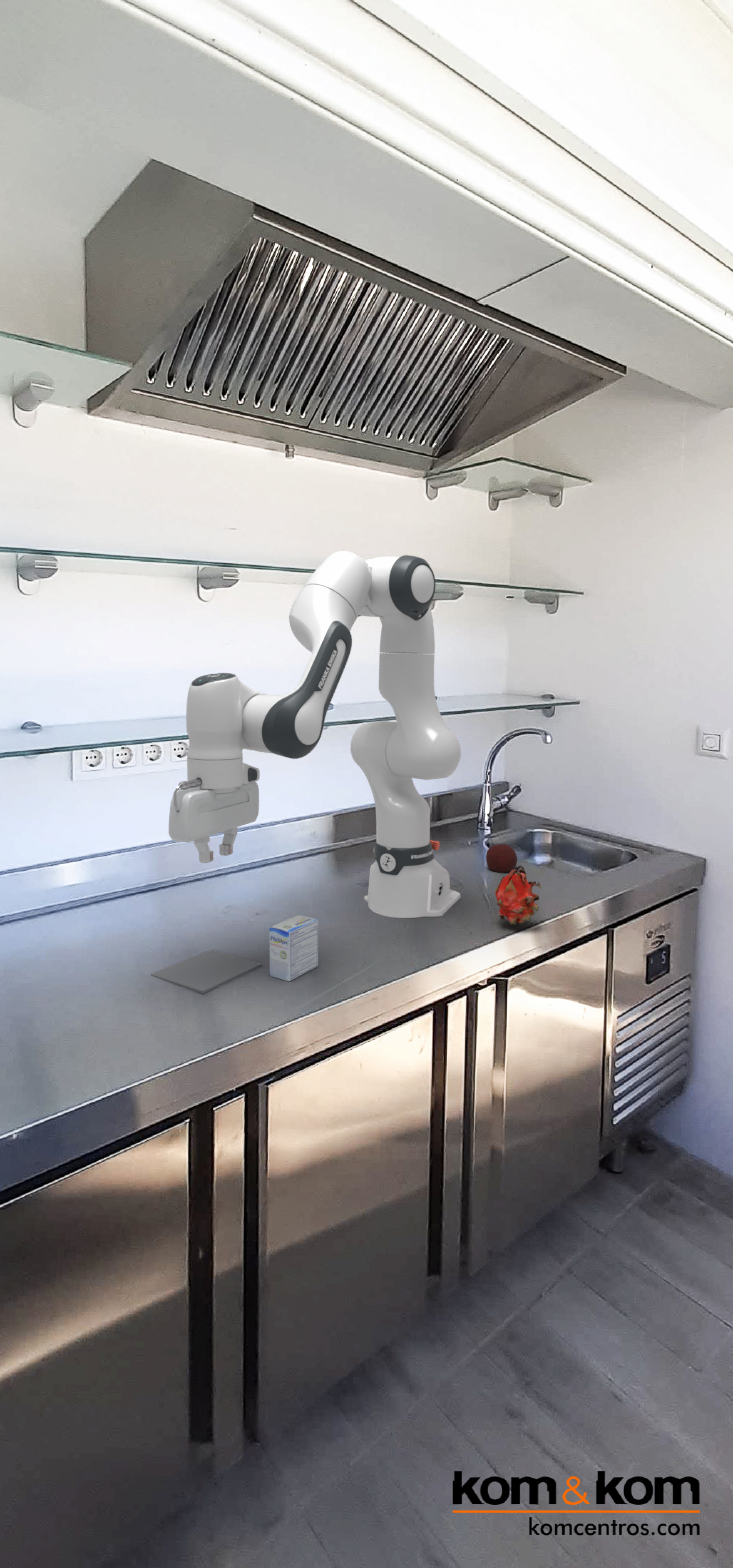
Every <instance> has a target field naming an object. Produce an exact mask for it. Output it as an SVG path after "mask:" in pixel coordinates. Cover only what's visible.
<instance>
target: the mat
mask: <svg viewBox="0 0 733 1568" xmlns="http://www.w3.org/2000/svg"><path fill="white" fill-rule="evenodd" d="M262 966H263V963H261V962H257V961H253V960H250V959H247V958H243V957H241V956H237V955H232V954H229V953H225V952H222V951H218V950H215V949H211V950H207V951H204V952H202V953H201V952H200V953H198V954H197V955H195V956H191V957H190V958H187V959H183V960H182V961H180V962H177V963H175V964H173V965H170V966H168V967H165V968H163V969H160V970H159V971H158V970H157V971H156V972H153V973H150V976H152V977H154V978H157V979H160V980H163V981H165V982H168V983H170V984H174V985H177V986H178V987H182V988H184V989H187V990H190V991H192V992H195V993H199V994H201V995H205V994H207V993H209V992H211V991H213V990H216V989H217V988H219V987H222V986H224V985H226V984H228V983H231V982H232V981H234V980H236V979H239V978H240V977H243V976H245V975H246V974H248V973H250V972H252V971H254V970H256V969H259V968H261V967H262Z"/></svg>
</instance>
